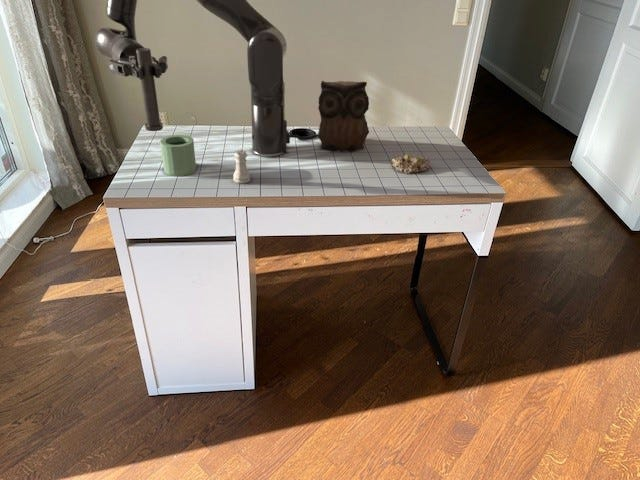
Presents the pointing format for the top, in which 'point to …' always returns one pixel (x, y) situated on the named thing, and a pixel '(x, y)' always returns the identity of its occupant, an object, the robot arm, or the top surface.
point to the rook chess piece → (241, 168)
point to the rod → (149, 90)
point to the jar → (178, 155)
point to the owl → (343, 115)
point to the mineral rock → (410, 164)
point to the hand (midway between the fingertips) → (149, 73)
